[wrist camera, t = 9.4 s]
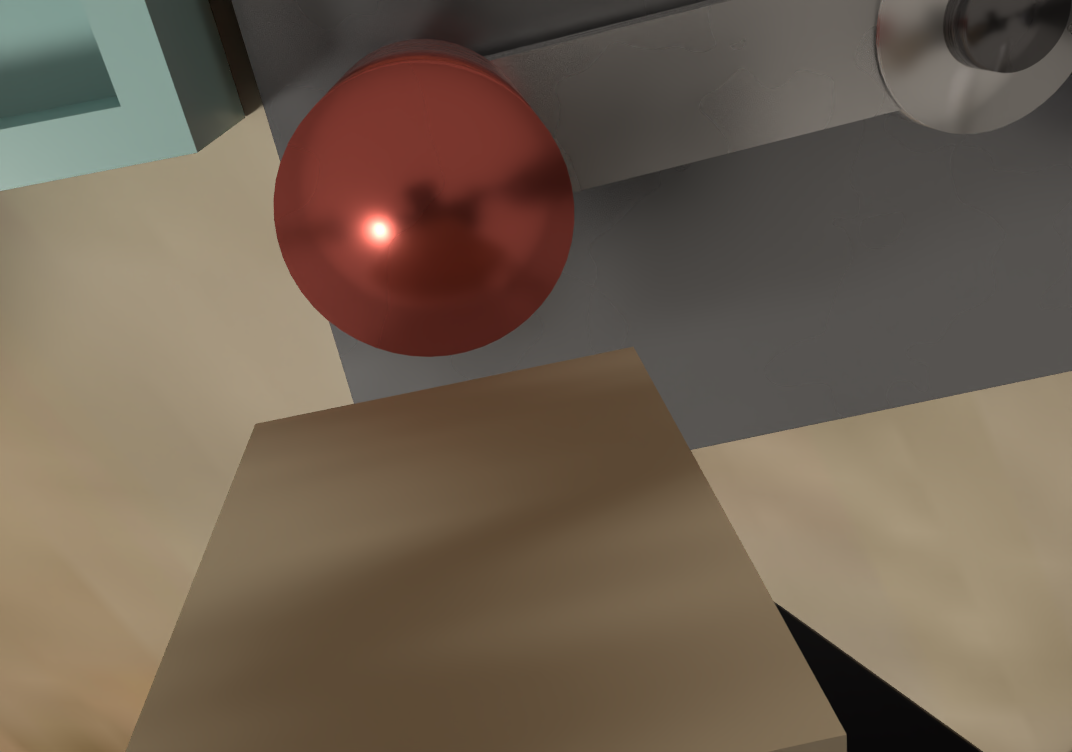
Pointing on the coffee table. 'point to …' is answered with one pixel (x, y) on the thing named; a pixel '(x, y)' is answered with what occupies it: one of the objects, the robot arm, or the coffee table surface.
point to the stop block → (482, 586)
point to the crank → (604, 138)
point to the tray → (108, 85)
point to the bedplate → (746, 242)
